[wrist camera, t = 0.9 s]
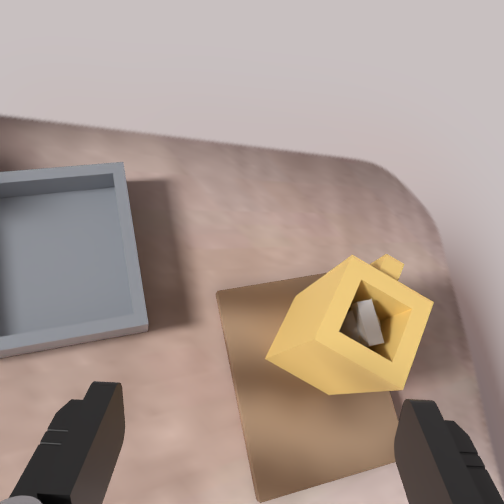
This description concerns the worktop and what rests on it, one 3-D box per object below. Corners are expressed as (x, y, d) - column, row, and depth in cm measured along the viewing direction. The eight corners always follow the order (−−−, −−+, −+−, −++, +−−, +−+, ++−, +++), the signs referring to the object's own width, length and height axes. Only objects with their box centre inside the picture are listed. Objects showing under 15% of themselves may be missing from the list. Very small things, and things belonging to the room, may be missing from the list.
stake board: (215, 294, 34) (244, 250, 24) (349, 271, 37) (421, 224, 28) (256, 499, 30) (309, 542, 21) (401, 456, 33) (505, 476, 24)
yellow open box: (328, 395, 33) (402, 390, 23) (264, 358, 32) (314, 339, 23) (363, 311, 35) (442, 277, 26) (304, 278, 35) (362, 231, 26)
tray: (-48, 197, 32) (-66, 177, 29) (124, 181, 35) (123, 162, 32) (-40, 365, 29) (-59, 361, 26) (147, 331, 32) (148, 324, 29)
